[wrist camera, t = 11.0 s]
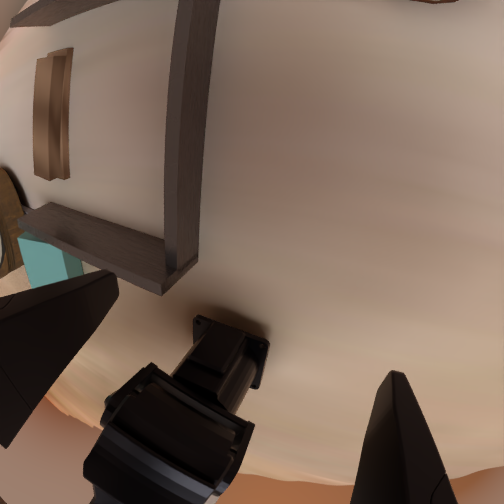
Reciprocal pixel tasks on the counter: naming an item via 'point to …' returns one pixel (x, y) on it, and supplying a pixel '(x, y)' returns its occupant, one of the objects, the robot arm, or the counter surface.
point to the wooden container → (9, 226)
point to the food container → (436, 1)
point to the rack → (175, 168)
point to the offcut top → (48, 116)
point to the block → (46, 261)
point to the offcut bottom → (65, 112)
